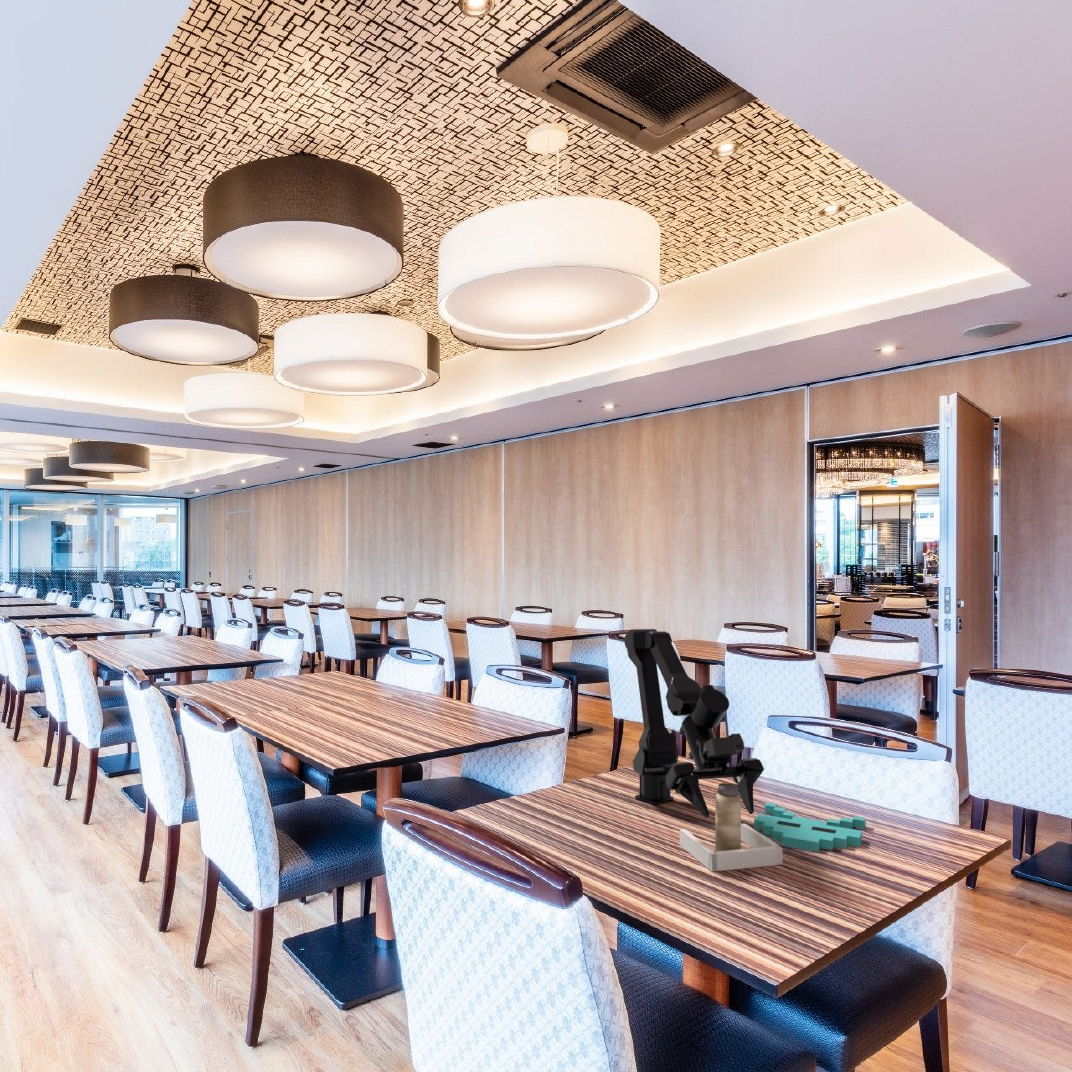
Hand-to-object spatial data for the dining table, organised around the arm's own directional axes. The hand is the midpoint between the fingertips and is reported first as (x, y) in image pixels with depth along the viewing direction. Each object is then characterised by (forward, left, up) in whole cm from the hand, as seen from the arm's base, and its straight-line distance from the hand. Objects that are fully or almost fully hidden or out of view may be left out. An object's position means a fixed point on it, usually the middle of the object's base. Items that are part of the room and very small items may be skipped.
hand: (729, 814), depth 142 cm
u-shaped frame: (-1, 0, -7) cm, 7 cm away
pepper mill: (-1, 0, -7) cm, 7 cm away
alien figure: (+3, +22, -8) cm, 24 cm away
